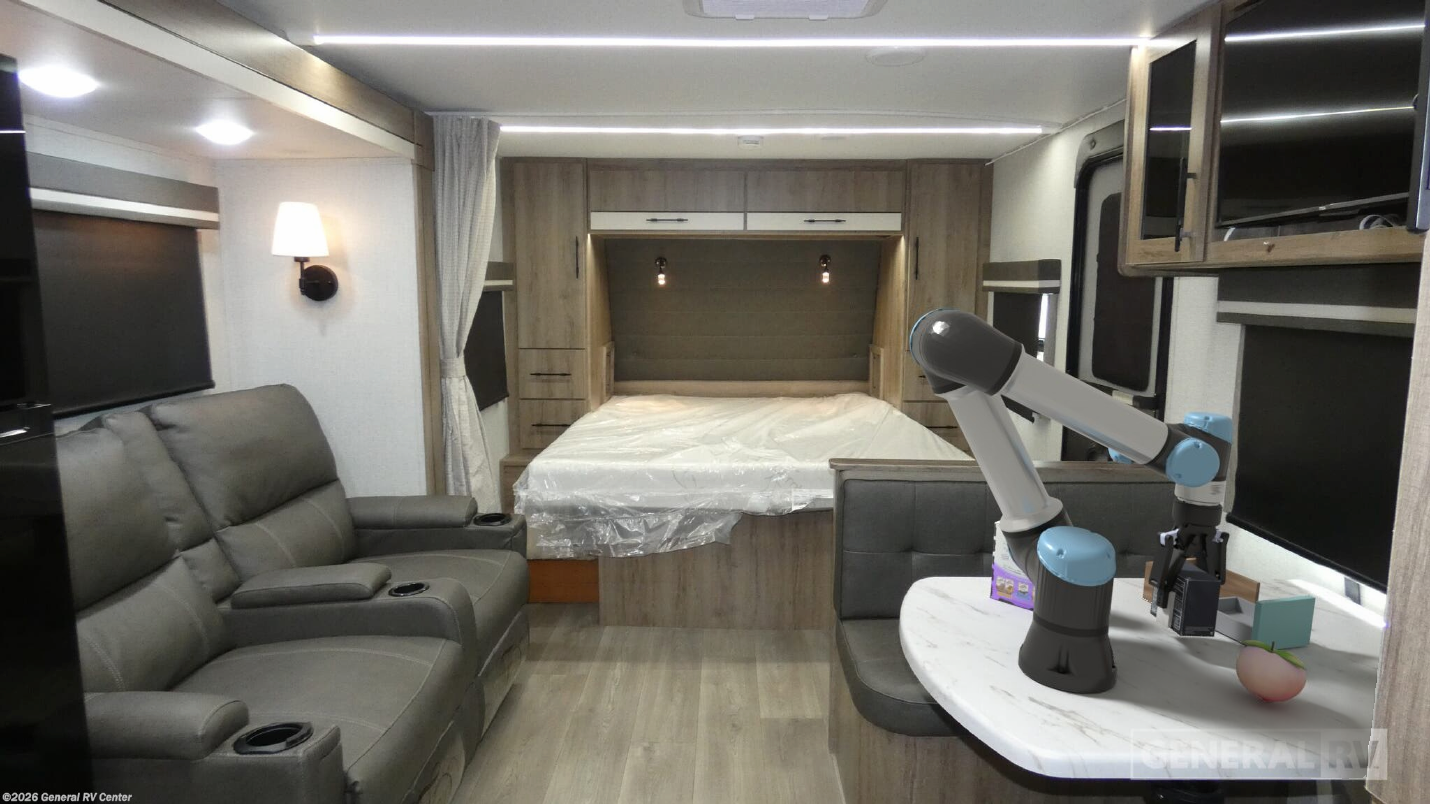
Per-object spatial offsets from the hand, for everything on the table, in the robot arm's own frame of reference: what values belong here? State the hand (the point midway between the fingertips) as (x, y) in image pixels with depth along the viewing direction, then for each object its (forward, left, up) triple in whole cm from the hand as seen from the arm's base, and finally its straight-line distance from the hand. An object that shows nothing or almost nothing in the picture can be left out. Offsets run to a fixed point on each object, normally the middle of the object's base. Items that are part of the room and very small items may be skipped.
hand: (1181, 622), depth 147 cm
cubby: (+17, +12, -4) cm, 21 cm away
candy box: (-15, +23, -4) cm, 28 cm away
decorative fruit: (-3, -20, -4) cm, 21 cm away
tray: (+17, +2, -4) cm, 17 cm away
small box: (0, 0, -1) cm, 1 cm away
